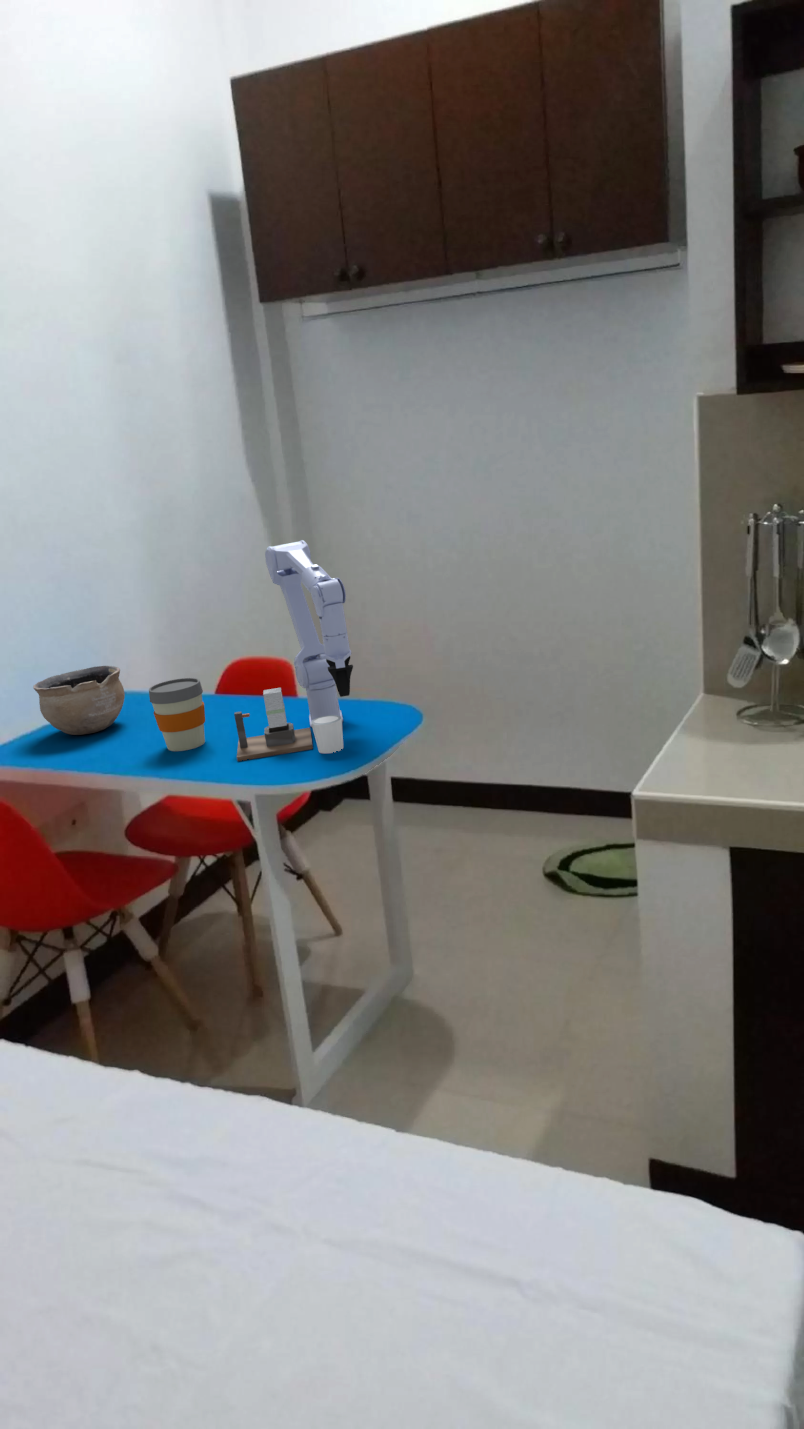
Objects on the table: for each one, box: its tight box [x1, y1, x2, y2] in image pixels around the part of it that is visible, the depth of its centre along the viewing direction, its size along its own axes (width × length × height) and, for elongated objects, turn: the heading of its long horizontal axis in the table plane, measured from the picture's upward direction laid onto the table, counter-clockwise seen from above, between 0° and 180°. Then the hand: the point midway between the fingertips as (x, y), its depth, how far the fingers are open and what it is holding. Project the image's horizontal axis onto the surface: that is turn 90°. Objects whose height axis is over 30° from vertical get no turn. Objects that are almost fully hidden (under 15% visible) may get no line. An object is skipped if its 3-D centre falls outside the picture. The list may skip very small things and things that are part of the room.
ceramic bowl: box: [32, 665, 126, 736], centre depth 285 cm, size 22×22×15 cm
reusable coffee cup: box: [148, 677, 206, 752], centre depth 259 cm, size 13×13×15 cm
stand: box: [234, 711, 314, 762], centre depth 249 cm, size 14×17×9 cm
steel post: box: [262, 687, 288, 728], centre depth 248 cm, size 4×4×8 cm
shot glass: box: [311, 715, 344, 754], centre depth 241 cm, size 7×7×7 cm
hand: (343, 691), depth 247 cm, fingers open, 7 cm apart
